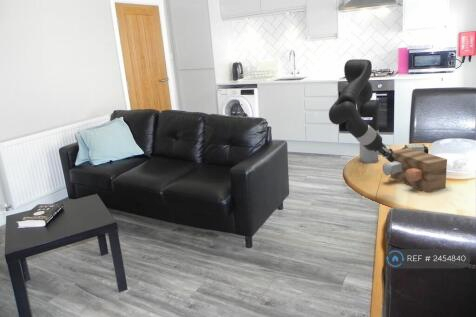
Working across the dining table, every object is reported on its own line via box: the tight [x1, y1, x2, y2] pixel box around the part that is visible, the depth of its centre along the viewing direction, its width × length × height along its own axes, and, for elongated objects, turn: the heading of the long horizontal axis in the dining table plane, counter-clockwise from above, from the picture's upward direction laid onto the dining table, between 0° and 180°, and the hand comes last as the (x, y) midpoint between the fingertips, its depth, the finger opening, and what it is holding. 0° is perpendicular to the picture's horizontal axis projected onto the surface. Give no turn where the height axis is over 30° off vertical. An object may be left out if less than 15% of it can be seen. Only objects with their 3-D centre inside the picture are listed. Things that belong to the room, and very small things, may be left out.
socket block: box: [390, 147, 448, 193], centre depth 183 cm, size 23×10×13 cm, turn 20°
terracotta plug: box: [405, 168, 423, 182], centre depth 176 cm, size 6×11×6 cm, turn 110°
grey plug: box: [382, 161, 403, 176], centre depth 186 cm, size 6×11×6 cm, turn 110°
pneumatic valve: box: [401, 143, 429, 154], centre depth 204 cm, size 6×12×12 cm, turn 79°
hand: (392, 160), depth 169 cm, fingers closed
